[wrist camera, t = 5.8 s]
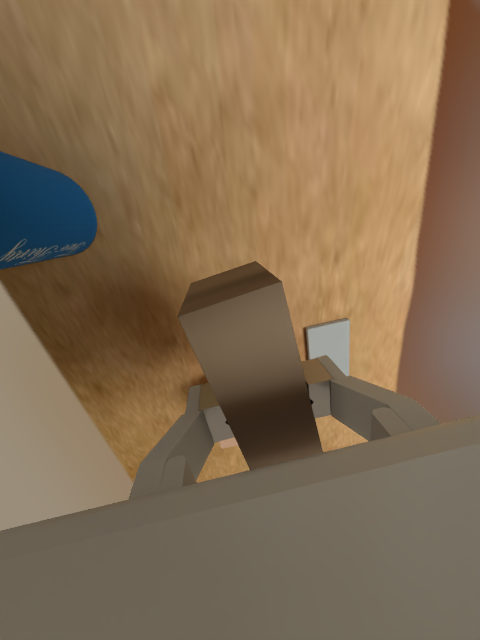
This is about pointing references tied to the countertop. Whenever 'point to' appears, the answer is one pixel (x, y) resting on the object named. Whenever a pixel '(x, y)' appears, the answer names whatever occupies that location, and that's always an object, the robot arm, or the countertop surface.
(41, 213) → the beverage can
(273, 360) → the tall taupe beveled block
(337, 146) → the countertop surface
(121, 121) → the countertop surface
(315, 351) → the pad
